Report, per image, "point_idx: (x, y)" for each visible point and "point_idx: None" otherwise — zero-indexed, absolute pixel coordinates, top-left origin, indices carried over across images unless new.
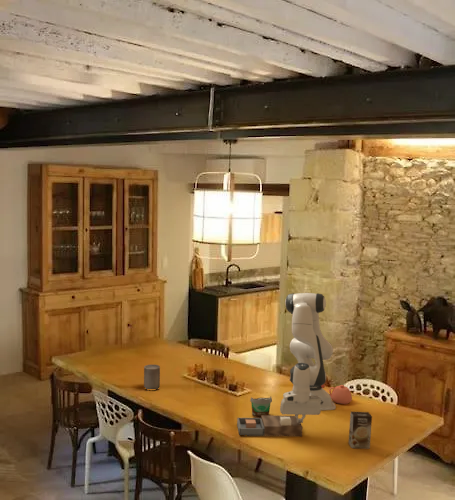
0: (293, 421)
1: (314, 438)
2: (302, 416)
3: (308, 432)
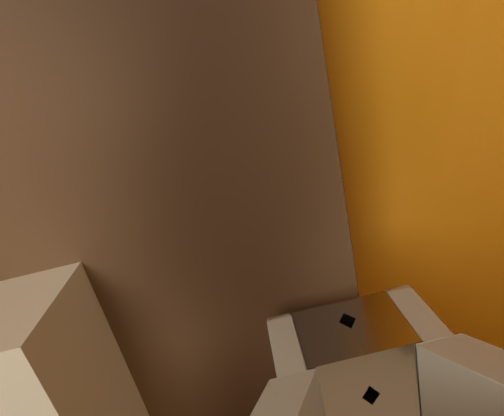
0: (177, 221)
1: (473, 322)
2: (498, 395)
3: (426, 155)
